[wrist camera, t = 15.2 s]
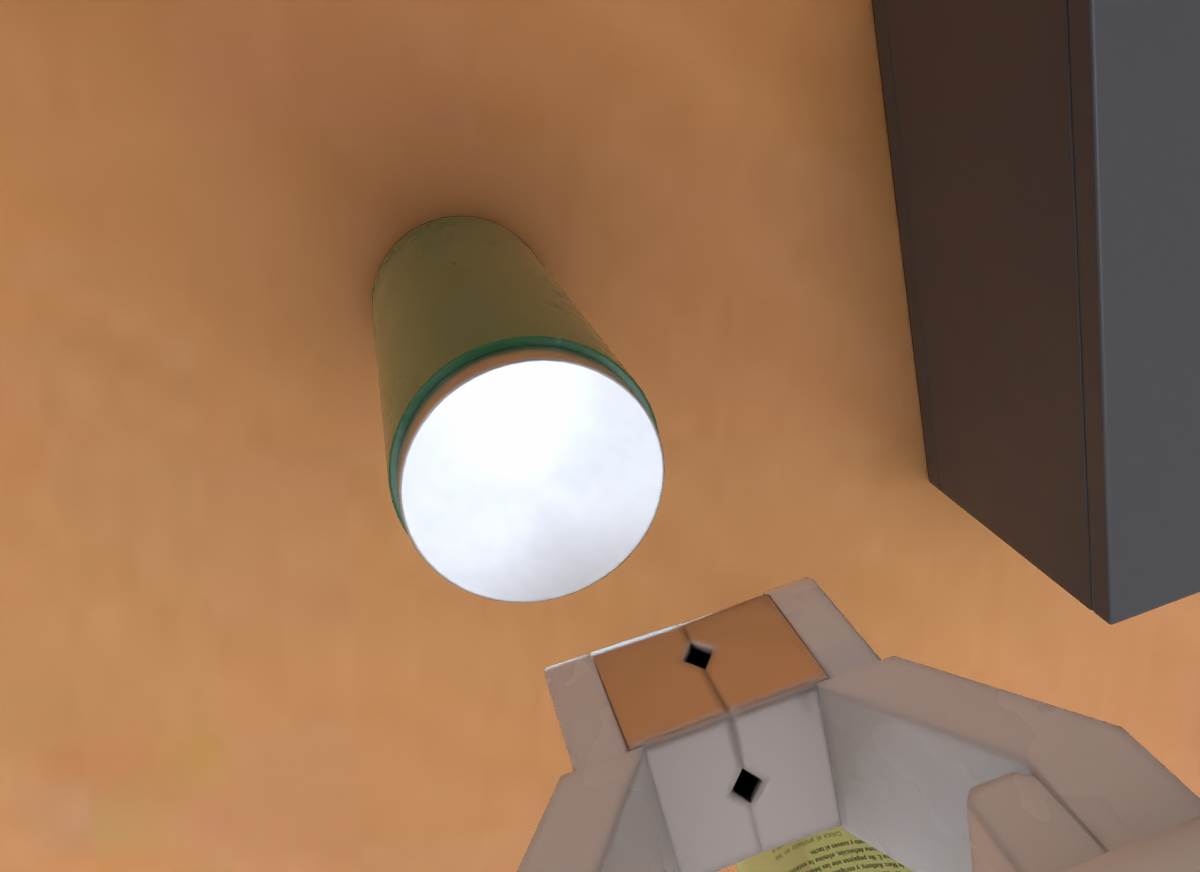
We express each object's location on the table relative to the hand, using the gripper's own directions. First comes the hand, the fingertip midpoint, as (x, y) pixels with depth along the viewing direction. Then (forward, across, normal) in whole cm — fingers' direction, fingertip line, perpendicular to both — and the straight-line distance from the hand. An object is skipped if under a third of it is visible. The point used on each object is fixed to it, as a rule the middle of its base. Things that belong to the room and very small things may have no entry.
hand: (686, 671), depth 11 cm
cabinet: (+21, -21, +4) cm, 30 cm away
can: (+21, +1, +1) cm, 21 cm away
